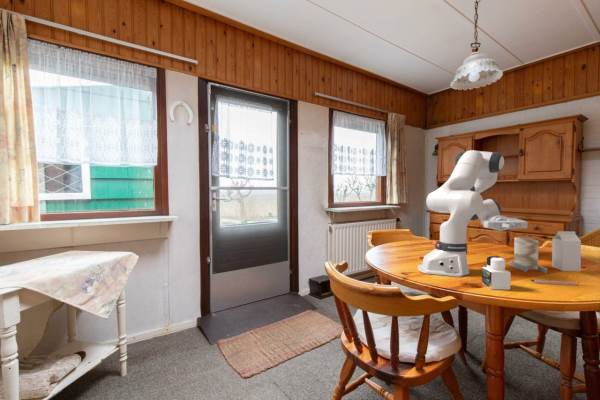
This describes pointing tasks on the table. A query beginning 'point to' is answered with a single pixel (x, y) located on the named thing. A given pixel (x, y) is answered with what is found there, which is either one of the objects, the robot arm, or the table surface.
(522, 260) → the block
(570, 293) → the table surface
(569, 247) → the milk carton
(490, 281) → the medicine bottle
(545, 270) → the chute
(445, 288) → the table surface
